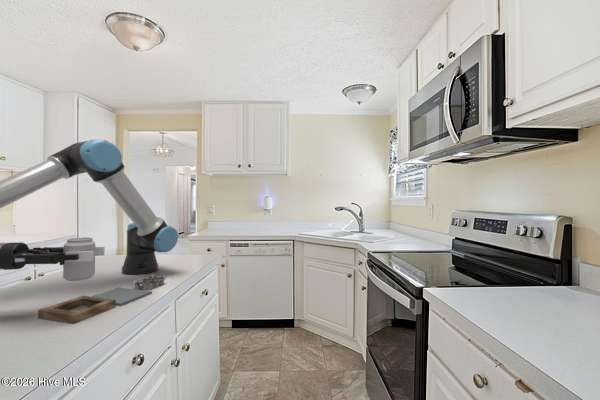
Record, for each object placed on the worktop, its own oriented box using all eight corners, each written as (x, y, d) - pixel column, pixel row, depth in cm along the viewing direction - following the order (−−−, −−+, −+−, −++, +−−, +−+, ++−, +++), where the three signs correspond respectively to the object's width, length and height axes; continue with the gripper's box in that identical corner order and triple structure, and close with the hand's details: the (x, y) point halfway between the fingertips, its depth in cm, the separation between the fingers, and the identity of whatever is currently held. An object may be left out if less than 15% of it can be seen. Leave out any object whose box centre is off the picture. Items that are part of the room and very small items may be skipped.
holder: (83, 302, 93) (83, 295, 93) (115, 306, 89) (115, 299, 89) (37, 317, 80) (38, 310, 80) (73, 323, 77) (73, 315, 77)
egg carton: (147, 292, 105) (147, 281, 105) (130, 290, 107) (131, 279, 107) (167, 284, 115) (168, 274, 115) (152, 282, 117) (152, 272, 117)
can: (77, 282, 80) (78, 240, 80) (56, 280, 82) (56, 239, 82) (101, 275, 88) (101, 237, 88) (81, 274, 89) (81, 236, 89)
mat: (118, 289, 106) (118, 287, 106) (151, 293, 103) (151, 291, 103) (84, 301, 94) (84, 298, 94) (120, 306, 90) (120, 303, 90)
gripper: (28, 261, 90) (111, 259, 96) (-26, 279, 70) (82, 274, 76) (28, 237, 90) (111, 236, 96) (-25, 249, 70) (83, 246, 76)
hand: (98, 253), depth 86 cm, fingers closed on can, 7 cm apart
